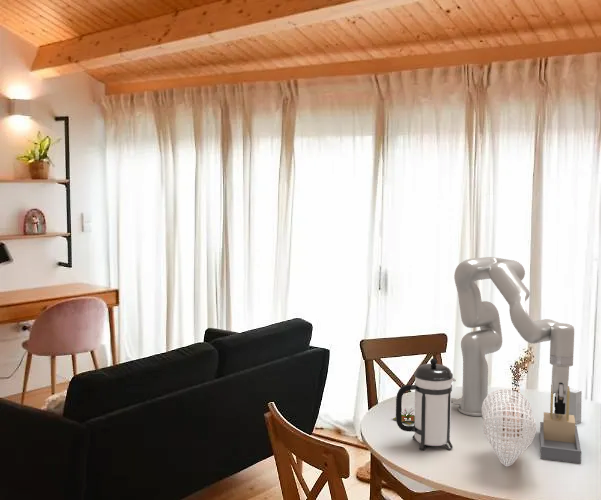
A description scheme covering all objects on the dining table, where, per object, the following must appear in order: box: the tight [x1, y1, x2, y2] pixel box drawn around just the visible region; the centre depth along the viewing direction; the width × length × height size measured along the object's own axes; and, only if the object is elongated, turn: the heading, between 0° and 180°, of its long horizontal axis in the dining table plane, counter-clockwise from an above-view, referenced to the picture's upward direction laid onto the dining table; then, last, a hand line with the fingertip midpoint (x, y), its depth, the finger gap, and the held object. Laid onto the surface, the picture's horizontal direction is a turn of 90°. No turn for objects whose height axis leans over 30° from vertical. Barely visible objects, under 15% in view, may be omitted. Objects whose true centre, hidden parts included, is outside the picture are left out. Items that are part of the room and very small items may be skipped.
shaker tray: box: [539, 411, 582, 465], centre depth 229 cm, size 12×24×8 cm, turn 161°
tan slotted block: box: [549, 384, 570, 421], centre depth 234 cm, size 6×6×11 cm
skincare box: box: [565, 387, 582, 425], centre depth 253 cm, size 6×4×12 cm
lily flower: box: [392, 408, 415, 426], centre depth 255 cm, size 12×12×5 cm
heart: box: [481, 388, 537, 467], centre depth 213 cm, size 28×16×22 cm, turn 167°
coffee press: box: [395, 357, 457, 452], centre depth 230 cm, size 17×16×30 cm
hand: (559, 410), depth 235 cm, fingers closed on tan slotted block, 5 cm apart
